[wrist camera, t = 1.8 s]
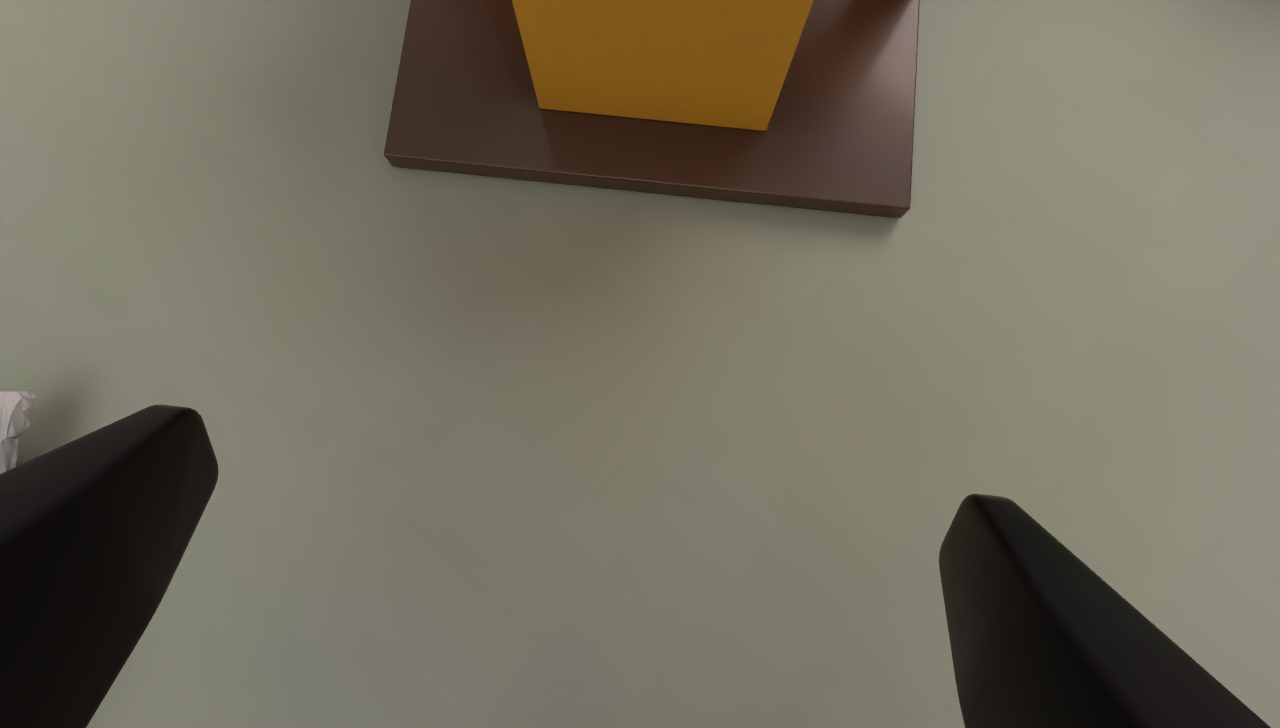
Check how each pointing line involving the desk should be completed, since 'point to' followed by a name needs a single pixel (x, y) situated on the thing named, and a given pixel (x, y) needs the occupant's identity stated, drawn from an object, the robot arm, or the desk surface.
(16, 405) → the packaged food
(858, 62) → the shelf
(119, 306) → the desk surface
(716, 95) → the box
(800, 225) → the desk surface
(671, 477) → the desk surface
